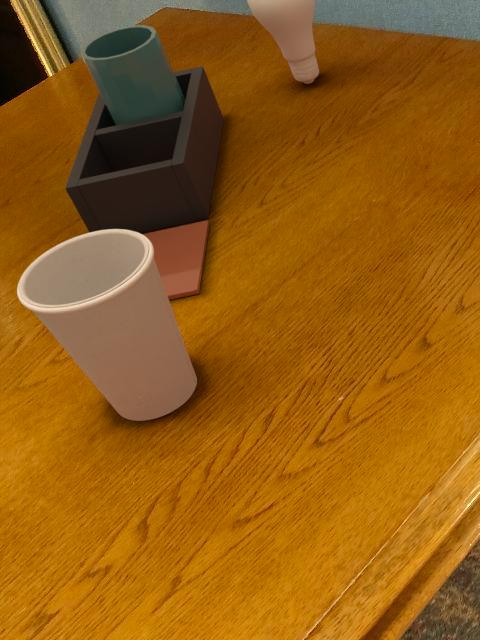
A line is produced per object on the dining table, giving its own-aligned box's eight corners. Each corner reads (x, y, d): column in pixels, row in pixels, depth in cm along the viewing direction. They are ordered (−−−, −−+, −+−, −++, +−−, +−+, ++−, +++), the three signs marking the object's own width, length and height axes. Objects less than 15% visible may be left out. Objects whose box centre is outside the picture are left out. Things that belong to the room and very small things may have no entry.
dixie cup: (109, 363, 71) (35, 240, 63) (224, 344, 70) (162, 217, 63) (83, 444, 65) (-2, 319, 58) (206, 423, 65) (137, 294, 57)
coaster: (69, 321, 75) (67, 317, 75) (91, 249, 82) (88, 245, 82) (199, 293, 75) (197, 289, 75) (209, 224, 82) (208, 219, 81)
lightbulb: (285, 72, 99) (244, -48, 91) (344, 64, 98) (308, -59, 90) (273, 101, 95) (228, -22, 87) (334, 92, 94) (295, -33, 86)
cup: (130, 178, 89) (74, 66, 82) (139, 144, 93) (87, 35, 86) (200, 163, 89) (150, 49, 82) (206, 130, 93) (159, 19, 86)
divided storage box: (95, 243, 82) (64, 188, 79) (125, 140, 95) (100, 88, 91) (208, 218, 82) (183, 162, 79) (224, 118, 94) (202, 65, 91)
